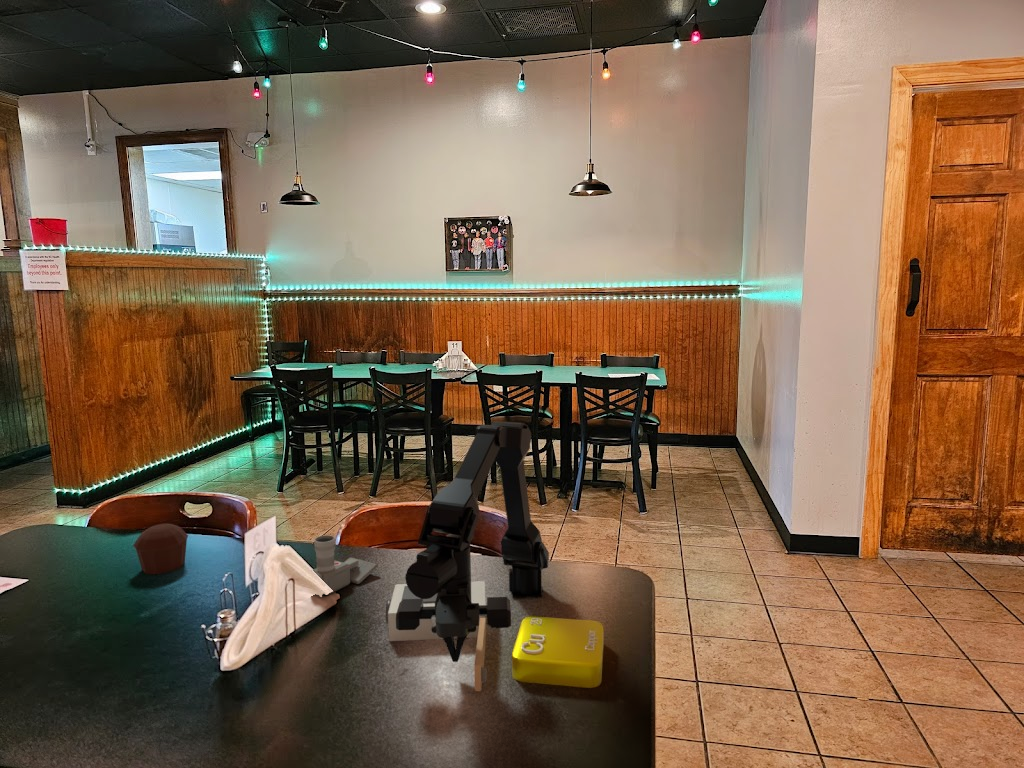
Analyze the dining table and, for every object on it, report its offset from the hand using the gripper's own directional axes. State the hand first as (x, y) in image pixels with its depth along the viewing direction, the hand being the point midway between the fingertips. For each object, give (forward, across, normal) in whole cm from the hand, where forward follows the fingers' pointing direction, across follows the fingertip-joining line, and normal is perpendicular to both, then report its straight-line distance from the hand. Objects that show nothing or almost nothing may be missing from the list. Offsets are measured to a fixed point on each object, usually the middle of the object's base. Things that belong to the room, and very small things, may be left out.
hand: (455, 660), depth 110 cm
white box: (+3, -4, +18) cm, 18 cm away
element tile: (+3, +18, +4) cm, 19 cm away
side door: (+2, +5, +3) cm, 6 cm away
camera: (+3, -28, +37) cm, 46 cm away
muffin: (+3, -72, +48) cm, 86 cm away
